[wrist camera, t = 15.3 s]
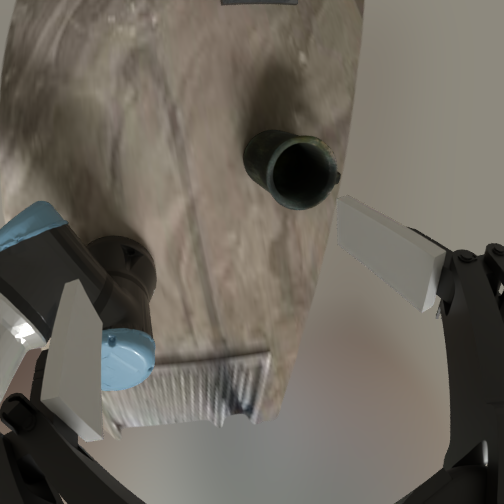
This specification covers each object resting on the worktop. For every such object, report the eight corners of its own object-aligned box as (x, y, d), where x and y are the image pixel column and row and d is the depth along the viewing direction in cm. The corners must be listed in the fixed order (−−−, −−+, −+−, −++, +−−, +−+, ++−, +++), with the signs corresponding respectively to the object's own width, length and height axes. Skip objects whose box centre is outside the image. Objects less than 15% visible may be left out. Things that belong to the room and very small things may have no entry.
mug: (247, 121, 46) (277, 127, 36) (321, 139, 52) (362, 151, 42) (234, 183, 51) (259, 206, 41) (307, 194, 56) (343, 217, 46)
